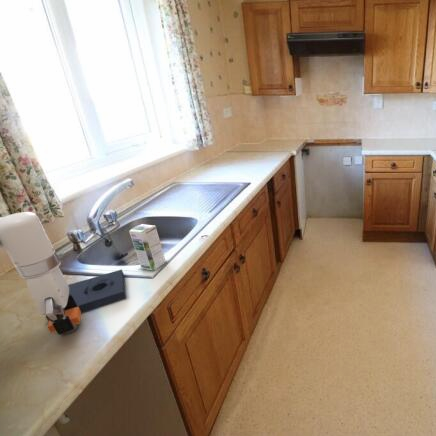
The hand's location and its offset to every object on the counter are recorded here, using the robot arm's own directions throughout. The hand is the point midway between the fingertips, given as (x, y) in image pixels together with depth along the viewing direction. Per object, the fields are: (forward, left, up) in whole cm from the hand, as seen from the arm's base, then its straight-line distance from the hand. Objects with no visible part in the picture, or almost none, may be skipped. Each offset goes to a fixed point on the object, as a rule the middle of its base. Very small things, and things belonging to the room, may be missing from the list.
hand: (68, 319), depth 83 cm
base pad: (+3, +13, -3) cm, 14 cm away
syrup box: (+21, +21, -3) cm, 30 cm away
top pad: (-1, 0, -3) cm, 3 cm away
